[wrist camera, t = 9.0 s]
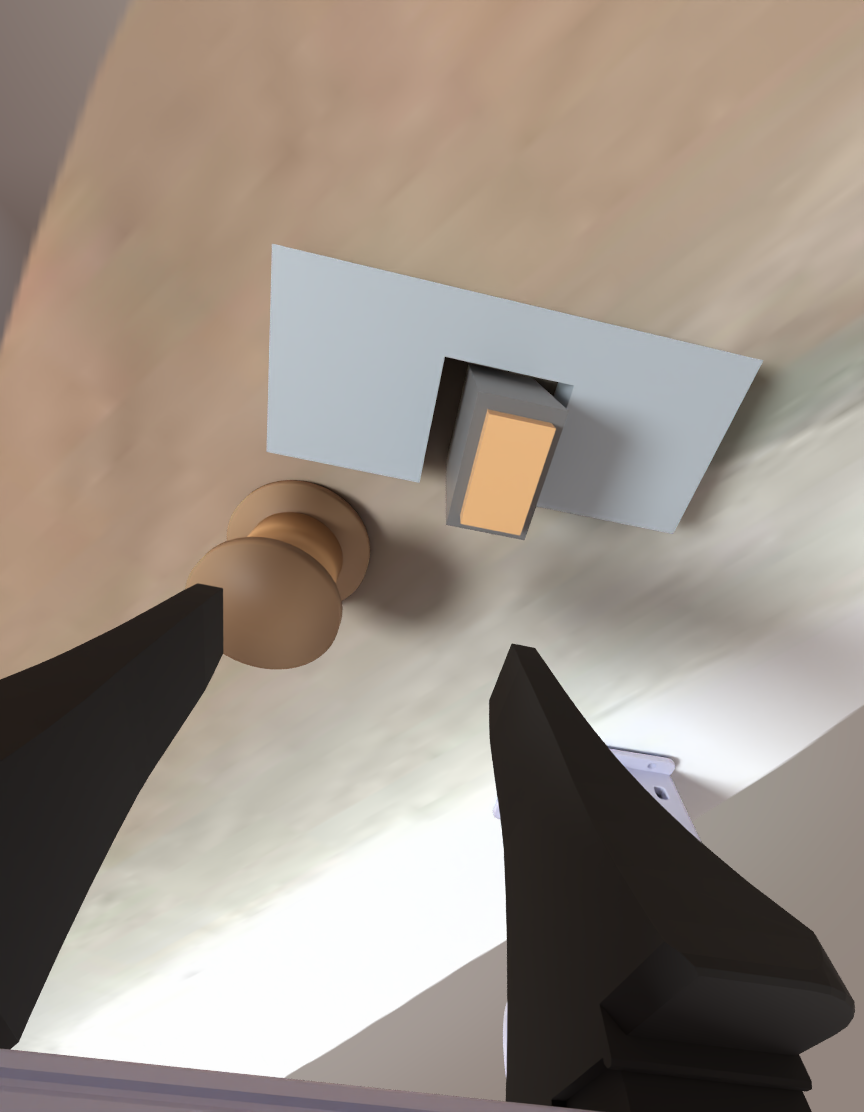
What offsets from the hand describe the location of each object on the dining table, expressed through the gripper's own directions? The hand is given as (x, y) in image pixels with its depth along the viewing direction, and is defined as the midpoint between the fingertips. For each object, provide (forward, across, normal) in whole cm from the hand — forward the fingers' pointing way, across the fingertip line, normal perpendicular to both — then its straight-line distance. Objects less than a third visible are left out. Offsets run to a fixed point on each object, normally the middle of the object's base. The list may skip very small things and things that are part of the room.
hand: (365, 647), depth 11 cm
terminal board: (+10, -3, -5) cm, 11 cm away
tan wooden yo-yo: (+10, +4, +3) cm, 11 cm away
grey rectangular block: (+10, -3, -4) cm, 11 cm away
